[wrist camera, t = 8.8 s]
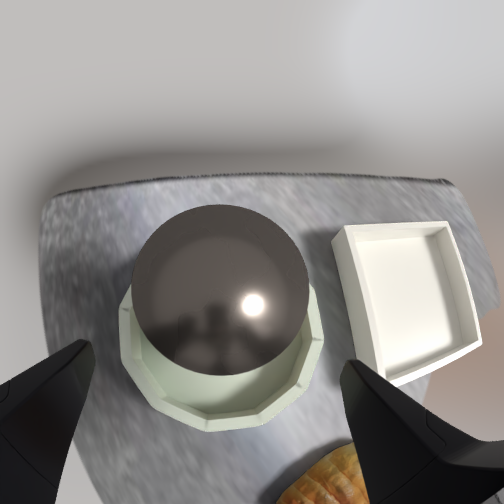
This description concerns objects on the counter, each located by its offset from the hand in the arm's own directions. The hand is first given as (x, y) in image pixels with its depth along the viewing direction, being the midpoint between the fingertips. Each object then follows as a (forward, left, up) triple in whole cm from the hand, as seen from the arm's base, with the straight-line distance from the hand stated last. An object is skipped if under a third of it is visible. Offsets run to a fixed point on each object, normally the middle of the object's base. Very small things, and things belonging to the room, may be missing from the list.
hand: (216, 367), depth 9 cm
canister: (+2, 0, -11) cm, 11 cm away
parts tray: (+3, -17, -11) cm, 21 cm away
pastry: (-12, -8, -12) cm, 19 cm away
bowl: (+3, 0, -11) cm, 12 cm away
